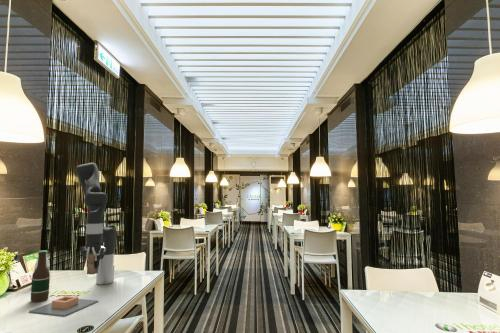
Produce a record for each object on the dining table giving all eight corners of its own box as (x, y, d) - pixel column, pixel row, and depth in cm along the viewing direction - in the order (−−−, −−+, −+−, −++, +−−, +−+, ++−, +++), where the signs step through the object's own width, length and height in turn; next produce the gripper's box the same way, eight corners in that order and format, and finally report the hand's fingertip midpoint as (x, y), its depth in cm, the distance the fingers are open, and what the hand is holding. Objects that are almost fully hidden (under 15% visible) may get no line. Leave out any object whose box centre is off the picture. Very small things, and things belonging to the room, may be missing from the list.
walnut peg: (92, 272, 155) (93, 252, 156) (98, 272, 154) (98, 252, 155) (86, 274, 152) (87, 253, 153) (92, 274, 151) (93, 253, 152)
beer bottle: (32, 298, 160) (35, 251, 163) (50, 296, 163) (53, 250, 165) (28, 303, 153) (31, 253, 155) (46, 301, 156) (49, 252, 158)
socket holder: (65, 298, 160) (65, 291, 160) (98, 301, 155) (98, 294, 155) (28, 312, 141) (29, 304, 141) (64, 316, 136) (65, 307, 136)
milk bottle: (29, 286, 182) (32, 251, 184) (41, 283, 190) (43, 249, 192) (40, 287, 180) (42, 252, 182) (51, 283, 188) (53, 250, 190)
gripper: (111, 232, 157) (110, 267, 155) (87, 231, 160) (86, 265, 158) (101, 233, 150) (99, 270, 148) (76, 233, 153) (74, 269, 151)
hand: (92, 267), depth 153 cm, fingers closed on walnut peg, 3 cm apart
